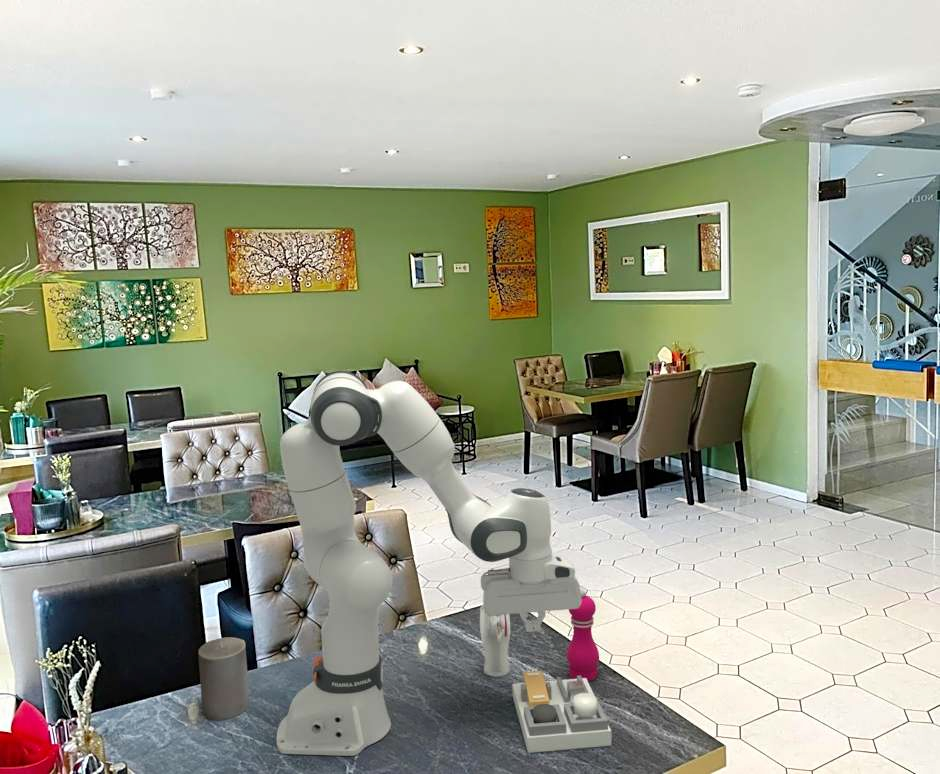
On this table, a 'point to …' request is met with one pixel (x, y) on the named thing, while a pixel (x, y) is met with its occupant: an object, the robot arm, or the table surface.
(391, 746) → the table surface
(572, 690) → the metal slider knob
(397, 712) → the table surface
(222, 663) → the pillar candle
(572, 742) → the console
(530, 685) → the amber rocker
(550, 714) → the black button
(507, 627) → the beer glass
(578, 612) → the pepper mill
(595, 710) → the white button
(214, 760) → the table surface
